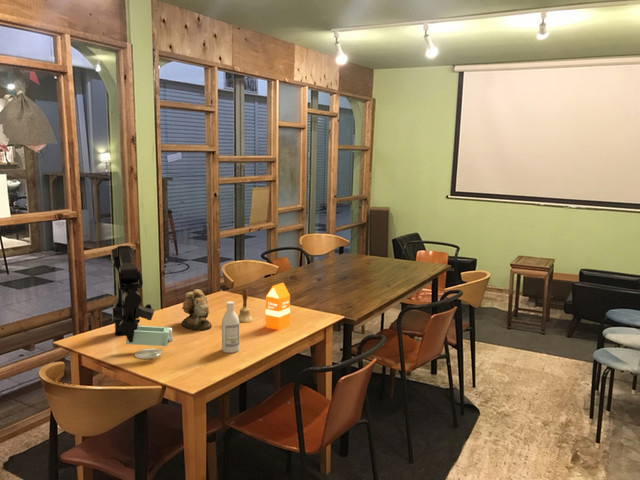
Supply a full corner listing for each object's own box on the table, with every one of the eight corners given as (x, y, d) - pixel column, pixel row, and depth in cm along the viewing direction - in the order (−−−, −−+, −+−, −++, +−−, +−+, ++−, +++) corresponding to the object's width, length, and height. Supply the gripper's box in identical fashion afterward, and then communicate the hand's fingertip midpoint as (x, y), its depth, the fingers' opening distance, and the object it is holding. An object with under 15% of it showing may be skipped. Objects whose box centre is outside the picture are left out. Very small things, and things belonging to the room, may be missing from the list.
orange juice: (290, 325, 246) (290, 283, 243) (279, 330, 239) (279, 287, 236) (276, 322, 250) (276, 281, 247) (265, 327, 243) (265, 284, 240)
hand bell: (256, 318, 255) (256, 286, 253) (249, 323, 247) (249, 290, 245) (240, 316, 257) (240, 285, 255) (233, 321, 250) (232, 288, 247)
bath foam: (242, 350, 213) (242, 302, 210) (229, 354, 208) (228, 305, 205) (232, 345, 217) (232, 299, 214) (218, 350, 212) (218, 302, 209)
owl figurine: (173, 324, 244) (172, 288, 242) (194, 318, 253) (194, 284, 251) (196, 332, 233) (196, 295, 230) (218, 327, 241) (217, 290, 239)
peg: (165, 342, 220) (164, 329, 219) (165, 339, 223) (164, 327, 222) (172, 341, 221) (172, 329, 220) (172, 339, 224) (172, 326, 223)
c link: (168, 339, 213) (169, 327, 213) (167, 346, 202) (168, 333, 202) (129, 337, 209) (130, 325, 209) (125, 344, 198) (127, 330, 198)
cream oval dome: (133, 359, 200) (133, 358, 200) (135, 350, 210) (135, 349, 210) (160, 357, 203) (160, 356, 203) (161, 348, 213) (161, 347, 212)
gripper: (151, 307, 190) (152, 348, 192) (153, 293, 208) (154, 331, 210) (118, 308, 187) (119, 350, 190) (123, 295, 205) (125, 333, 207)
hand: (131, 340), depth 199 cm, fingers closed on c link, 2 cm apart
